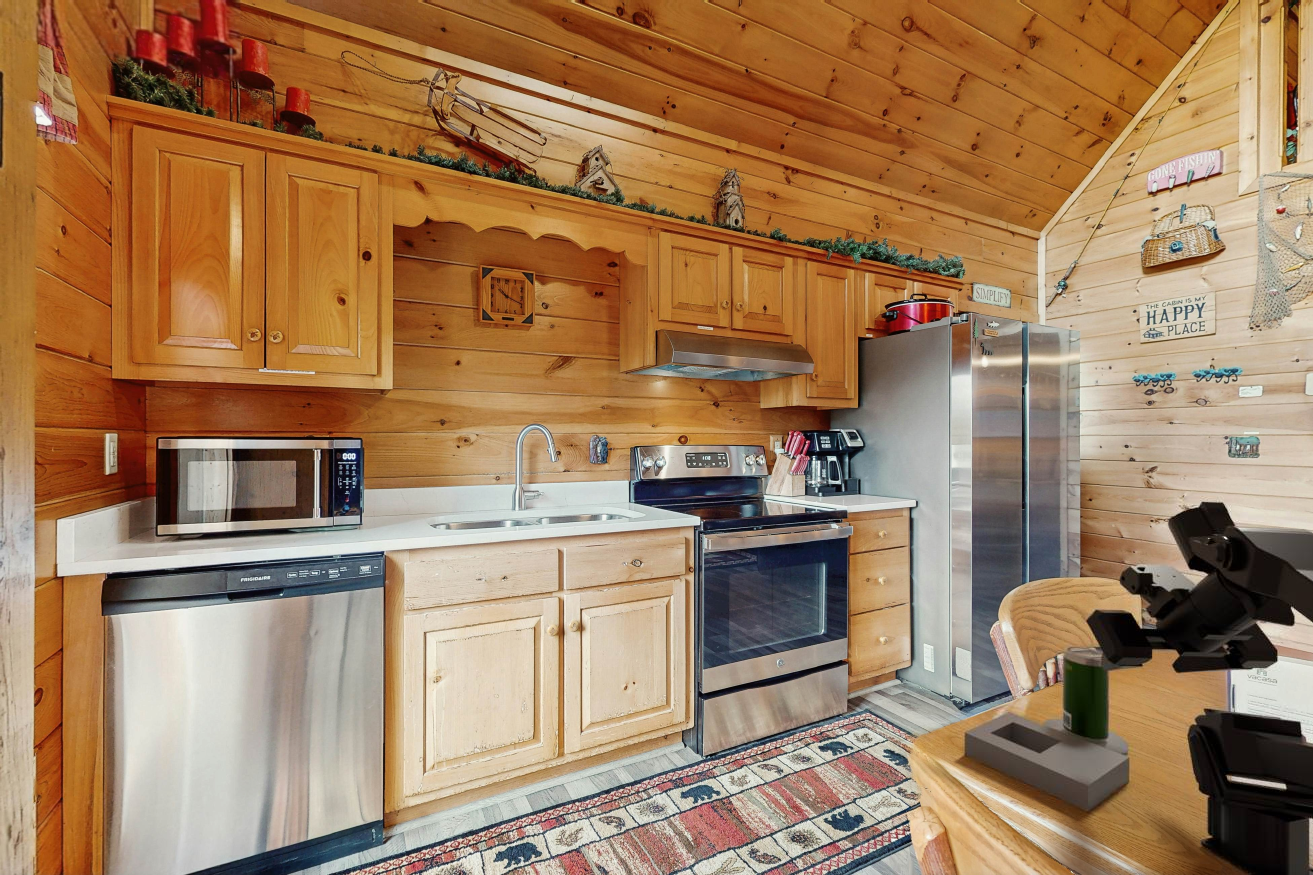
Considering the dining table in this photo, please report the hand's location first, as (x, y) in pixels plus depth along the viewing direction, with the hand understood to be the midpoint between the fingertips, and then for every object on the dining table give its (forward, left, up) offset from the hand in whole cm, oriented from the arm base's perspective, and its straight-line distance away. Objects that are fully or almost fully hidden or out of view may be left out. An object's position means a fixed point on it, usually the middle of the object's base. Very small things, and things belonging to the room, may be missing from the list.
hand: (1139, 668), depth 76 cm
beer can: (+8, -2, -13) cm, 16 cm away
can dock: (+5, +11, -14) cm, 18 cm away
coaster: (+9, -2, -14) cm, 16 cm away
